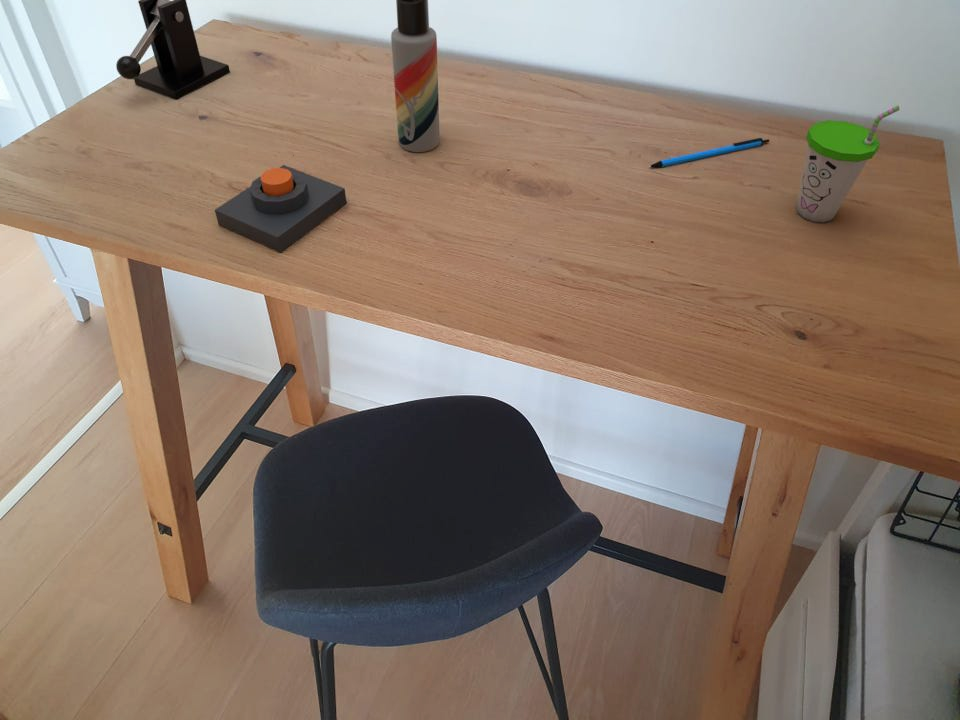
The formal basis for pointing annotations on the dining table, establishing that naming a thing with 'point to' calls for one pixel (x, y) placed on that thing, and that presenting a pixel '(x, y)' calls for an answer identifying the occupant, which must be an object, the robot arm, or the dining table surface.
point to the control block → (281, 210)
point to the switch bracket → (176, 53)
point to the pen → (711, 152)
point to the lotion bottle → (415, 77)
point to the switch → (140, 47)
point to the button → (277, 182)
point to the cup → (834, 165)
